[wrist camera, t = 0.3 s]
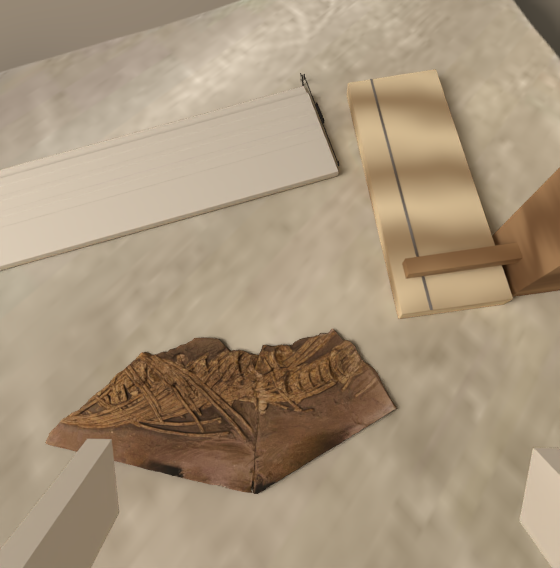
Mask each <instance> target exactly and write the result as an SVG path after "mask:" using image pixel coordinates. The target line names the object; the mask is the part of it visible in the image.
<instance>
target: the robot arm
mask: <svg viewBox="0 0 560 568" xmlns="http://www.w3.org/2000/svg"><path fill="white" fill-rule="evenodd" d="M118 514H119V505H118V495H117V486H116V476H115V466H114V457H113V447H112V439H87V440H86V441H85V442H84V444H83V445H82V446H81V448H80V449H79V450H78V451H77V453H76V454H75V455H74V456H73V458H72V459H71V460H70V461H69V463H68V464H67V465H66V467H65V468H64V469H63V470H62V472H61V473H60V474H59V475H58V477H57V478H56V479H55V480H54V482H53V483H52V484H51V485H50V487H49V488H48V489H47V491H46V492H45V493H44V494H43V496H42V497H41V498H40V499H39V501H38V502H37V503H36V504H35V506H34V507H33V508H32V510H31V511H30V512H29V513H28V515H27V516H26V517H25V518H24V520H23V521H22V522H21V523H20V525H19V526H18V527H17V529H16V530H15V531H14V532H13V534H12V535H11V536H10V537H9V539H8V540H7V541H6V542H5V544H4V545H3V546H2V547H1V549H0V568H91V566H92V565H93V563H94V561H95V559H96V557H97V555H98V553H99V551H100V549H101V547H102V545H103V543H104V541H105V539H106V537H107V535H108V533H109V531H110V529H111V528H112V526H113V524H114V522H115V520H116V518H117V516H118ZM520 523H521V524H522V525H523V527H524V528H525V530H526V531H527V533H528V534H529V535H530V537H531V538H532V540H533V541H534V543H535V544H536V546H537V547H538V548H539V550H540V551H541V553H542V554H543V556H544V557H545V558H546V560H547V561H548V563H549V564H550V566H551V567H552V568H560V449H559V448H546V447H533V451H532V456H531V462H530V467H529V472H528V478H527V483H526V488H525V494H524V499H523V505H522V510H521V515H520Z"/></svg>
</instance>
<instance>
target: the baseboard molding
mask: <svg viewBox="0 0 560 568" xmlns="http://www.w3.org/2000/svg"><path fill="white" fill-rule="evenodd" d="M300 75H301V73H300ZM303 75H304V80H306V78H305V74H303ZM303 75H301V76H302V85H303ZM306 83H307V81H306ZM307 85H308V83H307ZM308 88H309V86H308ZM309 90H310V89H309ZM310 93H311V91H310ZM311 96H312V94H311ZM312 98H313V96H312ZM313 101H314V99H313ZM314 103H315V102H314ZM315 106H317V107H316V109H317V111H318V114H319V116H321V117H320V119H322V120H321V121H322V124H323V123H324V118H322V117H323V115H322V113H321V111H320V109H319V107H318V104H317V103H316V104H315ZM323 127H324V125H323ZM324 129H325V127H324ZM325 132H326V130H325ZM326 134H327V133H326ZM327 137H328V135H327ZM328 140H329V138H328ZM329 142H330V140H329ZM330 145H331V143H330ZM331 147H332V145H331ZM332 150H333V148H332ZM333 153H334V151H333ZM334 155H335V153H334ZM335 158H336V156H335ZM336 160H337V158H336ZM337 163H338V166H339V161H337ZM336 176H338V169H337V167H336V164H335V161H334V159H333V156H332V154H331V151H330V148H329V146H328V143H327V141H326V138H325V136H324V133H323V131H322V128H321V125H320V123H319V120H318V118H317V115H316V112H315V109H314V107H313V105H312V102H311V99H310V96H309V94H308V93H307V92H306V90H305V88H304V86H301V87H298V88H294V89H291V90H287V91H283V92H280V93H276V94H273V95H269V96H265V97H262V98H258V99H255V100H251V101H247V102H244V103H240V104H236V105H233V106H229V107H226V108H222V109H218V110H215V111H211V112H208V113H204V114H200V115H197V116H193V117H190V118H186V119H182V120H179V121H175V122H171V123H168V124H164V125H161V126H157V127H153V128H150V129H146V130H143V131H139V132H135V133H132V134H128V135H125V136H121V137H117V138H114V139H110V140H106V141H103V142H99V143H96V144H92V145H88V146H85V147H81V148H78V149H74V150H70V151H67V152H63V153H59V154H56V155H52V156H49V157H45V158H41V159H38V160H34V161H31V162H27V163H23V164H20V165H16V166H13V167H9V168H5V169H2V170H0V271H1V270H4V269H8V268H12V267H15V266H19V265H22V264H26V263H29V262H33V261H36V260H40V259H44V258H47V257H51V256H54V255H58V254H61V253H65V252H69V251H72V250H76V249H79V248H83V247H86V246H90V245H93V244H97V243H101V242H104V241H108V240H111V239H115V238H118V237H122V236H126V235H129V234H133V233H136V232H140V231H143V230H147V229H150V228H154V227H158V226H161V225H165V224H168V223H172V222H175V221H179V220H183V219H186V218H190V217H193V216H197V215H200V214H204V213H207V212H211V211H215V210H218V209H222V208H225V207H229V206H232V205H236V204H240V203H243V202H247V201H250V200H254V199H257V198H261V197H264V196H268V195H272V194H275V193H279V192H282V191H286V190H289V189H293V188H296V187H300V186H304V185H307V184H311V183H314V182H318V181H321V180H325V179H329V178H332V177H336Z"/></svg>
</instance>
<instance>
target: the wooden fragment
mask: <svg viewBox="0 0 560 568" xmlns="http://www.w3.org/2000/svg"><path fill="white" fill-rule="evenodd" d="M395 409H397V408H396V406H395V405H394V404H393V402H392V400H391V399H390V397H389V395H388V393H387V392H386V390H385V388H384V387H383V385H382V383H381V380H380V378H379V376H378V374H377V372H376V371H375V370H374V369H373V368H372V367H371V366H370V365H369V364H367V363H365V362H364V361H363V360H362V359H361V357H360V355H359V354H358V353H357V351H356V348H355V346H354V345H353V344H352V343H351V342H350V341H347V340H345V341H343V340H342V339H341V338H340V336H339V335H338V334H337V333H336V332H335V331H334V329H331V330H330V332H329V333H325V334H324V333H320V334H319V335H318V336H315V337H307V338H303V339H300V340H298V341H296V342H294V343H293V345H290V346H289V345H285V346H283V345H278V346H269V345H263V346H262V350H261V352H260V354H259V355H255V354H249V353H247V352H245V351H241V350H238V351H235V350H232V351H230V350H229V349H228V348H227V347H226V346H225V345H224V344H223V343H222V342H221V341H220V340H219V339H213V338H194V339H193V340H192V341H190V342H188V343H187V344H184V345H180V346H178V347H177V348H174V349H170V350H169V351H168V352H161V353H159V354H157V355H151V354H149V353H147V352H144V353H143V352H142V353H141V354H140V355H139V356H138V357H137V358H136V360H134V361H133V362H132V363H131V364H130V365H129V366H127V367H126V368H125V369H124V370H123V371H121V372H119V373H118V374H117V375H116V376H115V377H114V378H113V379H112V380H111V381H110V383H109V384H108V385H107V386H106V387H105V388H103V389H102V390H101V391H99V392H97V393H96V394H95V395H94V396H93V397H92V398H90V400H88V402H87V403H86V404H85V405H83V406H82V407H81V408H80V410H78V411H76V412H73V413H71V414H70V415H69V416H67V417H66V418H63V419H62V420H61V421H60V423H59V424H58V425H57V426H56V427H55V428H54V429H53V430H52V431H51V432H50V433H49V436H48V438H47V440H46V442H45V443H46V444H49V445H52V446H57V447H60V448H65V449H69V450H73V451H76V452H77V451H78V450H79V449H80V448H81V446H82V445H83V444H84V442H85V441H86V440H87V439H112V447H113V457H114V461H118V462H122V463H126V464H130V465H134V466H137V467H141V468H144V469H148V470H153V471H157V472H162V473H165V474H169V475H172V476H177V477H181V478H185V479H189V480H193V481H198V482H203V483H207V484H210V485H218V486H220V485H222V486H223V487H224V486H226V488H229V489H233V490H237V491H242V492H248V493H254V494H258V493H260V492H262V491H263V490H265V489H266V488H268V487H269V486H270V485H272V484H274V483H276V482H277V481H279V480H281V479H282V478H284V477H285V476H286V475H289V474H290V473H292V472H293V471H295V470H297V469H299V468H300V467H302V466H303V465H305V464H306V463H307V462H310V461H311V460H313V459H314V458H316V457H318V456H320V455H321V454H323V453H324V452H326V451H328V450H329V449H331V448H333V447H334V446H336V445H338V444H340V443H341V442H342V441H344V440H346V439H348V438H349V437H351V436H352V435H353V434H355V433H358V432H359V431H361V429H362V428H366V427H367V426H369V425H370V424H372V423H374V422H375V421H377V420H379V419H380V418H382V417H383V416H384V415H387V414H388V413H390V412H391V411H393V410H395ZM252 481H254V487H253V489H254V490H253V492H252V491H251V488H252V487H251V486H252Z"/></svg>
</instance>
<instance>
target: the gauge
mask: <svg viewBox="0 0 560 568" xmlns="http://www.w3.org/2000/svg"><path fill="white" fill-rule="evenodd" d="M492 238H493V241H494V244H495V246H489V247H482V248H475V249H468V250H461V251H454V252H447V253H440V254H433V255H426V256H419V257H412V258H405V260H404V261H403V263H402V265H403V269H404V273H405V277H406V279H408V278H415V277H422V276H429V275H436V274H443V273H450V272H457V271H464V270H471V269H478V268H485V267H493V266H500V265H502V267H503V270H504V273H505V276H506V279H507V282H508V285H509V288H510V291H511V294H512V297H515V296H522V295H529V294H536V293H543V292H551V291H558V290H560V168H559V169H558V170H557V171H556V172H555V173H554V174H553V175H552V176H551V177H550V178H549V179H548V180H547V181H546V182H545V183H544V184H543V185H542V186H541V187H540V188H539V189H538V190H537V191H536V192H535V193H534V194H533V195H532V196H531V197H530V198H529V199H528V200H527V201H526V202H525V203H524V204H523V205H522V206H521V207H520V208H519V209H518V210H517V211H516V212H515V213H514V214H513V215H512V216H511V217H510V218H509V219H508V220H507V221H506V222H505V223H504V225H503V226H502V227H501V228H500V229H499V230H498V231H497V232H496V233H495V234H494V235H493V236H492Z"/></svg>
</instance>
